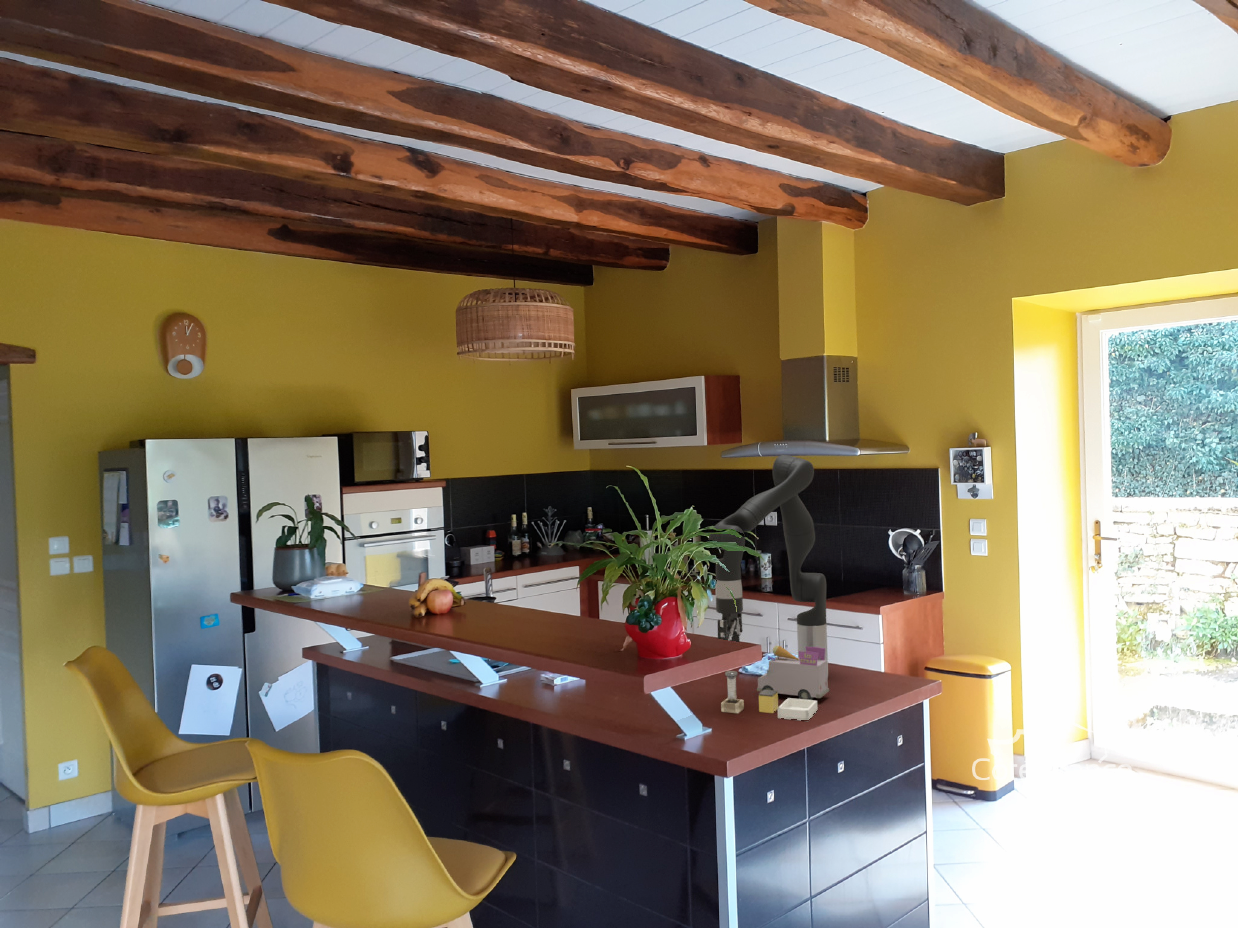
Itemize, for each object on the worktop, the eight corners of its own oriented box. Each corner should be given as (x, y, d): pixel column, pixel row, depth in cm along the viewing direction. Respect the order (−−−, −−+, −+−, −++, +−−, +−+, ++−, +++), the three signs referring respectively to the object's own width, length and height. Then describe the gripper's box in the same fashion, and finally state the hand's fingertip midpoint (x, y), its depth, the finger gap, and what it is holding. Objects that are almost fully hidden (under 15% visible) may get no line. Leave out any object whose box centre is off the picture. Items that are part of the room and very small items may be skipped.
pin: (729, 707, 266) (727, 670, 266) (740, 708, 264) (739, 671, 264) (724, 711, 263) (723, 673, 262) (736, 712, 261) (735, 674, 261)
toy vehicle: (767, 689, 283) (766, 641, 283) (830, 696, 273) (828, 646, 273) (756, 697, 275) (754, 647, 275) (819, 705, 265) (818, 653, 265)
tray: (788, 707, 264) (787, 697, 264) (817, 710, 260) (817, 700, 260) (777, 718, 254) (777, 707, 254) (808, 721, 251) (807, 710, 251)
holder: (727, 706, 267) (726, 698, 267) (743, 708, 265) (743, 699, 265) (721, 711, 262) (721, 702, 262) (738, 713, 260) (737, 704, 260)
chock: (764, 707, 266) (763, 689, 265) (778, 708, 264) (777, 690, 264) (759, 711, 261) (758, 694, 261) (773, 713, 259) (772, 695, 259)
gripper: (733, 600, 255) (735, 658, 255) (749, 591, 267) (751, 647, 268) (707, 598, 258) (709, 657, 258) (724, 590, 271) (726, 646, 271)
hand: (731, 652), depth 263 cm, fingers open, 8 cm apart
